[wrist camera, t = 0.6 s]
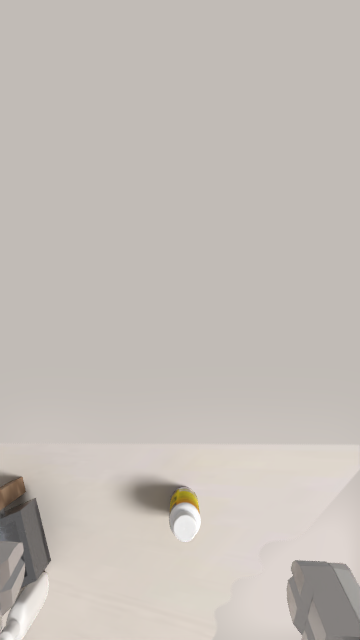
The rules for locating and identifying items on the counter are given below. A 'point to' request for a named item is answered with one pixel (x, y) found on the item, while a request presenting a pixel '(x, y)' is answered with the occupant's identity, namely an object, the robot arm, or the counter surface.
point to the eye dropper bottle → (26, 609)
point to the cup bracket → (24, 530)
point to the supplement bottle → (184, 514)
